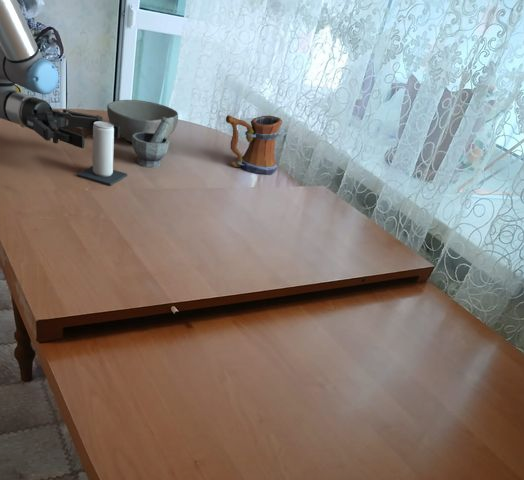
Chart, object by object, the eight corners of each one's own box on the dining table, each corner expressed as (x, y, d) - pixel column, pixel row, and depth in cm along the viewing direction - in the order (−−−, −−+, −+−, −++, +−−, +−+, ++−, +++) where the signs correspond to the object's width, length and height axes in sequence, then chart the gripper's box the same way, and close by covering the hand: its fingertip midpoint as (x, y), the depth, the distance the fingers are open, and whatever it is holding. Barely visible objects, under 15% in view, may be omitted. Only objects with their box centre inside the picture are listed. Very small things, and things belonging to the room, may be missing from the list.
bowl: (150, 129, 175) (152, 96, 169) (188, 151, 165) (192, 117, 159) (93, 132, 162) (93, 96, 157) (130, 156, 152) (132, 119, 146)
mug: (226, 173, 155) (234, 119, 147) (213, 159, 163) (220, 107, 155) (282, 176, 163) (293, 124, 154) (267, 162, 171) (276, 112, 162)
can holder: (49, 130, 157) (48, 119, 155) (68, 123, 165) (68, 113, 163) (81, 139, 155) (81, 128, 154) (99, 132, 164) (99, 121, 162)
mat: (76, 176, 134) (76, 173, 133) (95, 166, 141) (95, 164, 140) (110, 186, 133) (110, 183, 132) (127, 175, 140) (127, 173, 140)
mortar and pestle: (146, 171, 145) (149, 125, 138) (124, 159, 149) (125, 113, 142) (177, 166, 153) (182, 122, 146) (155, 155, 157) (158, 111, 150)
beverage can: (113, 178, 135) (115, 128, 128) (93, 176, 134) (93, 126, 127) (111, 171, 139) (113, 122, 132) (92, 169, 137) (92, 120, 130)
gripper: (65, 120, 148) (131, 143, 143) (-7, 136, 128) (67, 163, 123) (64, 91, 143) (132, 113, 139) (-10, 103, 124) (66, 129, 119)
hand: (101, 137), depth 131 cm, fingers open, 13 cm apart
